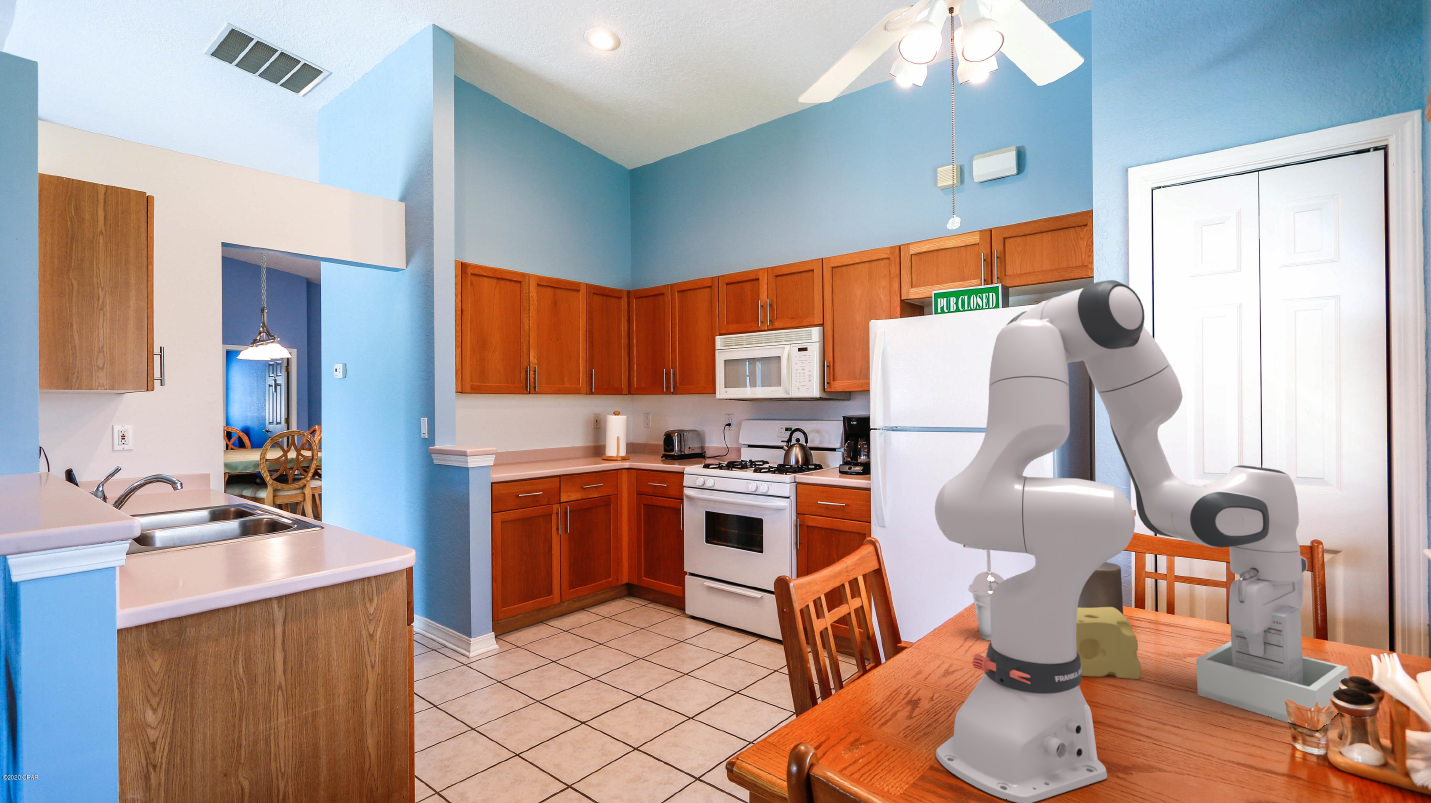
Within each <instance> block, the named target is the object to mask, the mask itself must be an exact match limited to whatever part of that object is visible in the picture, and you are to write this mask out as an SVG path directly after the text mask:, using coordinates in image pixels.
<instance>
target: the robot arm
mask: <svg viewBox="0 0 1431 803" xmlns="http://www.w3.org/2000/svg"><path fill="white" fill-rule="evenodd" d="M1145 319H1146V318H1145V309H1144V305H1143V303H1142V300H1141V299H1140V297H1139V295H1138V294H1137V292H1136V291H1135V290H1134V289H1133V288H1131V287H1130V286H1128V285H1126V284H1125V283H1122V282H1120V281H1117V280H1115V279H1110V280H1102V281H1097V282H1094V283H1090V284H1087V285H1086V286H1084V287H1082V288H1080V289H1076V290H1072V291H1070V292H1067V293H1064V294H1062V295H1059V296H1053V297H1051V298H1049V299H1047V300H1045V301H1043V302H1040V304H1037V305H1036V306H1034V307H1032V308H1030V309H1028V310H1026V311H1022V312H1021V313H1018V314H1017V315H1016V316H1014V317H1012V319H1011V320H1009V322H1008V323H1006V324H1005V326H1003V328H1001V329H1000V330H999V332H998V334H997V336H996V338H995V342H994V347H993V350H992V355H991V362H990V369H989V379H988V380H989V381H988V406H987V407H988V408H987V417H986V418H987V420H986V426H985V433H984V434H985V435H984V438H983V441H982V443H981V445H980V448H979V450H978V452H977V453H976V454H975V456H974V458H973V459H972V460H971V461H970V463H969V464H968V465H967V466H966V467H965V468H964V469H963V470H962V471H961V472H959V473H958V474H957V475H955V476H953V477H952V478H951V479H949V480H948V481H946V482H945V483H944V485H943V486H942V487H941V489H940V490H939V492H938V494H937V496H936V500H935V505H934V515H935V520H936V523H937V526H938V528H939V530H940V531H941V532H942V535H943V536H944V537H945V538H946V539H947V540H948V541H950V542H953V543H956V544H960V545H962V546H963V545H966V546H970V547H974V548H978V549H977V550H980V549H984V550H983V551H986V550H990V551H995V552H998V551H999V552H1009V553H1010V552H1011V553H1019V554H1028V555H1031V556H1033V557H1034V560H1035V565H1034V566H1033V567H1032V568H1031V569H1029V570H1027V571H1025V572H1021V573H1019V574H1015V575H1013V576H1010V577H1008V578H1006V579H1004V581H1002V582H1000V583H999V584H998V585H997V586H996V587H995V588H994V589H993V591H992V593H991V596H990V620H991V641H990V642H989V643H988V647H987V651H986V652H985V656H983V655H981V654H979V653H975V654H974V656H973V658H972V661H971V662H972V666H973V668H974V669H976V670H981V671H983V672H984V674H983V675H982V677H981V679H980V680H979V682H978V683H977V684H976V686H975V687H974V688H973V690H972V691H971V693H970V694H969V695H968V697H967V698H966V700H965V701H964V703H963V704H962V705H961V707H960V708H959V710H958V711H957V713H956V715H955V719H954V723H953V724H954V725H953V726H954V728H953V735H952V736H951V737H949V738H948V739H947V740H946V741H944V742H943V743H942V744H941V745H940V746H938V747H937V748H936V752H935V757H936V759H937V760H938V761H939V763H940V764H941V765H942V766H943V767H944V768H945V769H947V770H948V771H949V772H951V773H952V774H954V775H955V776H956V777H958V778H960V779H961V780H962V781H964V782H967V783H968V784H970V785H972V786H974V787H975V788H977V789H979V790H982V791H983V792H986V793H988V794H990V795H992V796H995V797H996V798H997V797H998V798H1001V799H1004V800H1006V799H1007V800H1006V801H1009V802H1014V803H1035V802H1039V801H1041V800H1044V799H1048V798H1051V797H1053V796H1057V795H1060V794H1063V793H1066V792H1069V791H1072V790H1076V789H1079V788H1081V787H1082V788H1083V787H1085V786H1088V785H1090V784H1095V783H1097V782H1101V781H1104V780H1106V779H1108V773H1107V768H1106V767H1105V764H1103V763H1102V762H1101V761H1100V760H1099V759H1098V754H1097V753H1098V752H1097V745H1096V738H1095V730H1094V723H1093V715H1092V711H1091V707H1090V706H1089V704H1088V703H1087V700H1086V699H1085V697H1084V694H1083V692H1082V690H1081V686H1080V684H1081V683H1082V681H1083V680H1082V677H1083V676H1081V673H1082V665H1081V661H1080V655H1079V654H1078V652H1077V650H1076V623H1077V608H1078V602H1079V598H1080V594H1081V592H1082V589H1083V587H1084V585H1085V583H1086V582H1087V580H1088V579H1089V577H1090V576H1091V575H1092V573H1093V572H1094V571H1095V570H1096V569H1097V568H1098V567H1100V566H1101V565H1102V564H1103V563H1105V562H1107V561H1109V560H1111V559H1113V558H1115V557H1116V556H1118V555H1119V554H1120V553H1122V552H1123V551H1124V550H1125V549H1126V548H1127V547H1128V546H1129V544H1130V542H1131V540H1132V539H1133V536H1134V532H1135V528H1136V518H1135V514H1134V509H1133V507H1132V505H1131V502H1130V501H1129V500H1128V498H1127V497H1126V496H1125V494H1124V493H1123V492H1122V491H1121V490H1120V489H1119V488H1117V486H1115V485H1112V484H1107V483H1103V482H1099V481H1095V480H1094V481H1093V480H1087V479H1082V478H1076V477H1075V478H1073V477H1072V478H1071V477H1070V478H1069V477H1066V478H1065V477H1040V476H1039V477H1036V476H1034V477H1033V476H1026V475H1024V471H1025V469H1026V468H1027V467H1028V465H1029V464H1031V463H1032V462H1033V461H1034V460H1037V459H1038V458H1041V457H1043V456H1046V455H1049V454H1050V453H1053V452H1055V451H1056V450H1058V449H1059V448H1061V447H1062V446H1063V444H1065V443H1066V441H1067V439H1068V437H1069V436H1070V432H1071V428H1070V427H1071V424H1070V423H1071V422H1070V421H1071V420H1070V418H1071V417H1070V416H1071V415H1070V382H1069V381H1070V378H1069V368H1068V364H1070V363H1074V362H1075V363H1077V362H1082V361H1083V363H1084V365H1085V367H1086V370H1087V373H1088V375H1089V377H1090V379H1091V382H1092V383H1093V386H1094V387H1095V389H1096V391H1097V393H1098V395H1099V398H1100V399H1101V401H1102V404H1103V405H1104V407H1105V410H1106V412H1107V414H1108V417H1109V418H1108V419H1109V423H1110V428H1111V432H1112V435H1113V438H1114V440H1115V443H1116V446H1117V448H1118V450H1119V453H1120V454H1121V457H1122V459H1123V462H1124V465H1125V467H1126V470H1127V471H1128V474H1129V476H1130V478H1131V481H1132V484H1133V487H1134V491H1135V502H1136V511H1137V514H1138V516H1139V520H1140V521H1141V523H1142V524H1143V525H1144V526H1145V527H1146V528H1147V529H1148V530H1149V531H1151V532H1152V533H1154V534H1156V535H1159V536H1163V537H1169V538H1174V539H1175V538H1176V539H1181V540H1182V541H1183V540H1184V541H1187V542H1190V543H1194V544H1199V545H1201V546H1202V545H1203V546H1207V547H1210V548H1229V570H1230V572H1231V573H1233V574H1235V575H1237V576H1239V578H1238V579H1236V580H1234V581H1232V582H1231V585H1230V587H1229V588H1230V589H1229V595H1228V597H1229V598H1228V622H1229V625H1230V628H1231V627H1232V628H1233V629H1235V630H1239V631H1243V632H1244V634H1245V636H1246V639H1247V641H1248V644H1249V652H1250V653H1251V654H1252V655H1256V656H1263V655H1264V654H1265V653H1266V644H1264V642H1263V637H1262V636H1263V635H1264V630H1266V629H1267V628H1269V627H1271V626H1272V613H1274V612H1276V611H1277V610H1279V609H1281V608H1284V607H1286V606H1293V607H1297V608H1300V610H1301V609H1302V605H1303V601H1304V600H1303V599H1304V582H1305V581H1304V580H1305V579H1304V573H1305V572H1306V571H1308V561H1307V558H1305V557H1303V556H1302V555H1301V549H1300V548H1301V547H1300V544H1299V541H1298V538H1297V529H1298V527H1299V523H1300V522H1299V521H1300V518H1299V506H1298V505H1299V503H1298V497H1297V491H1296V488H1295V484H1294V481H1293V480H1292V478H1291V476H1290V475H1289V474H1288V473H1286V472H1284V471H1282V470H1278V469H1275V468H1268V467H1258V466H1252V465H1242V464H1241V465H1239V464H1238V465H1235V466H1232V467H1231V469H1230V471H1228V472H1227V473H1226V474H1225V475H1223V476H1222V477H1220V478H1218V479H1217V480H1215V481H1212V482H1210V483H1207V484H1203V485H1197V484H1196V485H1194V484H1189V483H1187V482H1184V481H1183V480H1181V479H1180V478H1178V477H1177V476H1176V475H1175V474H1174V473H1173V472H1172V471H1173V470H1172V469H1171V466H1170V465H1169V461H1168V460H1167V457H1166V454H1165V452H1164V450H1163V448H1162V445H1161V442H1160V440H1159V435H1158V433H1159V432H1158V431H1159V428H1160V427H1161V425H1162V424H1164V423H1166V422H1168V421H1169V420H1170V419H1171V418H1173V416H1175V414H1176V412H1178V410H1179V408H1180V406H1181V403H1182V400H1183V392H1182V387H1181V384H1180V381H1179V379H1178V377H1177V374H1176V373H1175V371H1174V369H1173V367H1172V365H1171V364H1170V361H1169V360H1168V358H1167V356H1166V355H1165V353H1164V352H1163V350H1162V349H1161V347H1160V345H1159V344H1158V342H1157V341H1156V339H1155V338H1154V337H1153V336H1152V335H1151V333H1150V332H1149V331H1148V330H1147V329H1146V327H1145V326H1144V325H1145Z"/></svg>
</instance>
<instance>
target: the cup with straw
mask: <svg viewBox="0 0 1431 803" xmlns="http://www.w3.org/2000/svg"><path fill="white" fill-rule="evenodd" d="M962 546H963V548H965V549H966V548H968V549H974V550H983V551H985V552H986V569H987V570H986V571H983V572H980V573H978V574H976V575H975V577H974V578H973V580H972V582H971V583H970V585H969V586H968V592H969V593H971V594H972V599H973V603H974V605H975V612H976V618H977V625H978V627H977V628H978V631H979V633H980V634H979V637H980V638H981V639H983V640H986V641H990V642H991V620H990V596H991V593H992V591H993V589H994V588H995V587H996V586H997V585H998V584H999V583H1000V582H1002V581H1004V580H1005V579H1004V578H1003V577H1002V576H1001V575H1000V574H998V573H996V572H993V571H992V566H991V565H992V564H991V550H984V549H978V548H974V547H970V546H966V545H962Z"/></svg>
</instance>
